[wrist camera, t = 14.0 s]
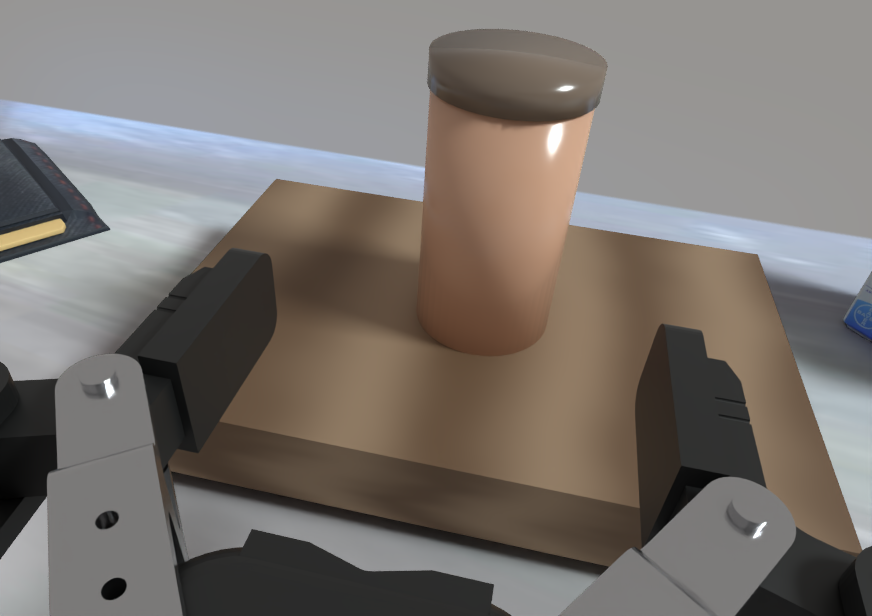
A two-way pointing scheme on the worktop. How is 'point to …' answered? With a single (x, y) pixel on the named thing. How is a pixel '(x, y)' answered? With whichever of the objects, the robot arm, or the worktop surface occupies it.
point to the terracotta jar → (500, 182)
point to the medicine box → (861, 311)
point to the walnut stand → (493, 383)
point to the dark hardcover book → (39, 203)
